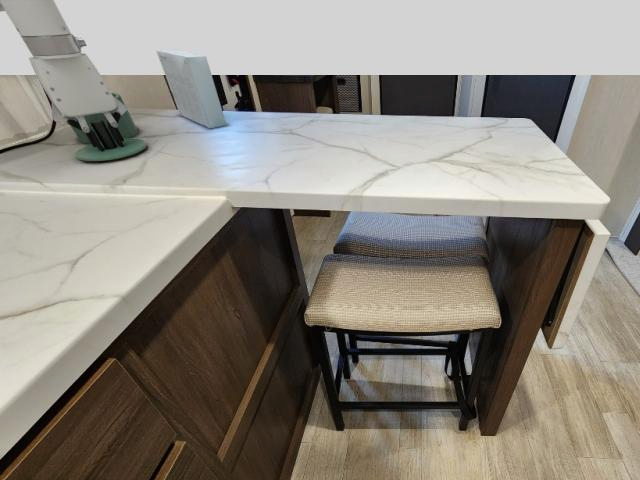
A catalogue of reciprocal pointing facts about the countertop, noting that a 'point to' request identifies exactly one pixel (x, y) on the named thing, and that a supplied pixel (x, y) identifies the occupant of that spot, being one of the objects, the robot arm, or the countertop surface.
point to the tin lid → (108, 146)
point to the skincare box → (192, 87)
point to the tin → (124, 124)
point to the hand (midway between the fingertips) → (110, 146)
